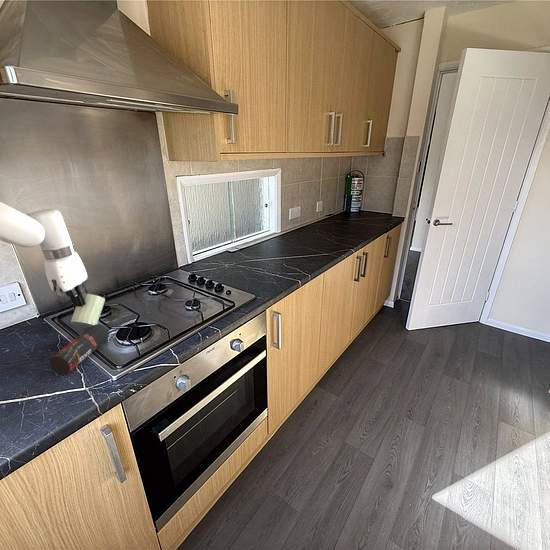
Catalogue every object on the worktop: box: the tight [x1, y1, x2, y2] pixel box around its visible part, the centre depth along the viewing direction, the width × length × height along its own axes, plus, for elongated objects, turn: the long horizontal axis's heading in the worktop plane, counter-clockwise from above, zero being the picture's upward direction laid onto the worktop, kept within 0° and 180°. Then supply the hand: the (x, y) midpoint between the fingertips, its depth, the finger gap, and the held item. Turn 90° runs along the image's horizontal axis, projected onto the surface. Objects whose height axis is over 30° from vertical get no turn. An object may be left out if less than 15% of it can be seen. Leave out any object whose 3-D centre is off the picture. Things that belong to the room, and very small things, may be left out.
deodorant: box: [49, 323, 110, 375], centre depth 84 cm, size 6×6×15 cm
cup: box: [70, 292, 106, 328], centre depth 98 cm, size 7×7×10 cm
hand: (80, 305), depth 94 cm, fingers closed
